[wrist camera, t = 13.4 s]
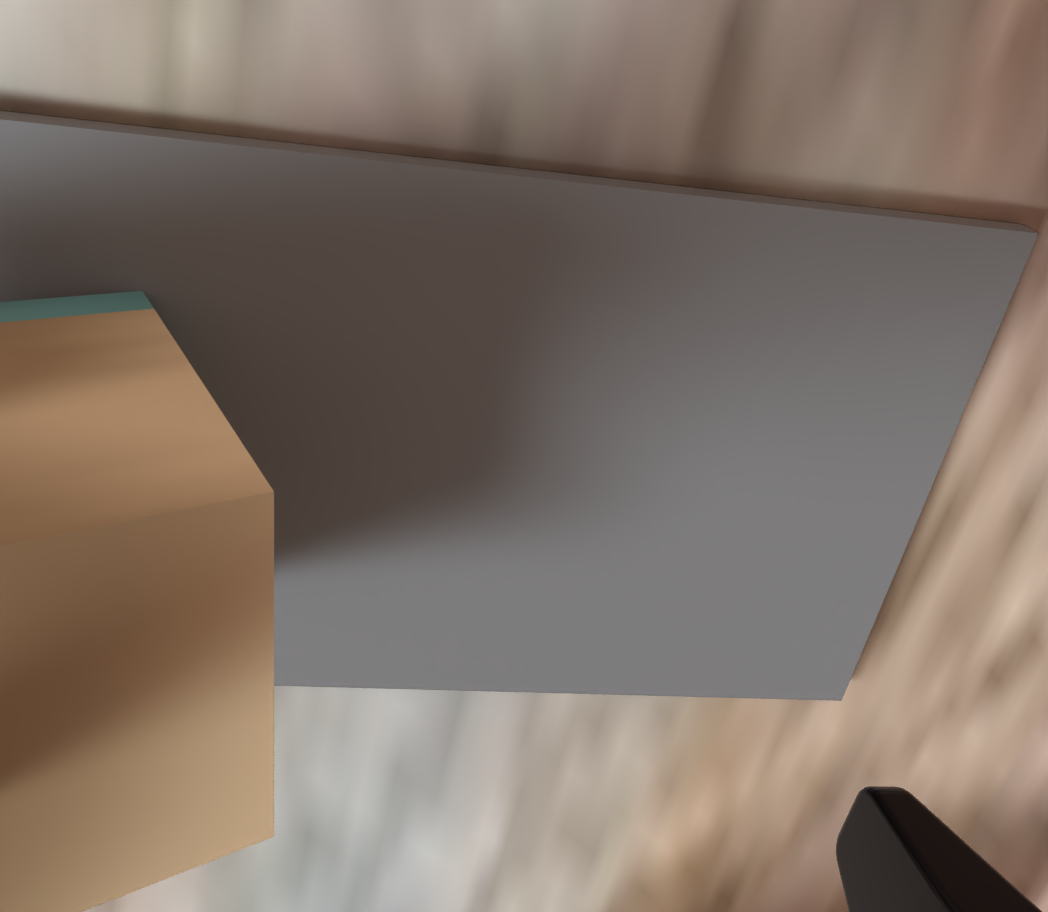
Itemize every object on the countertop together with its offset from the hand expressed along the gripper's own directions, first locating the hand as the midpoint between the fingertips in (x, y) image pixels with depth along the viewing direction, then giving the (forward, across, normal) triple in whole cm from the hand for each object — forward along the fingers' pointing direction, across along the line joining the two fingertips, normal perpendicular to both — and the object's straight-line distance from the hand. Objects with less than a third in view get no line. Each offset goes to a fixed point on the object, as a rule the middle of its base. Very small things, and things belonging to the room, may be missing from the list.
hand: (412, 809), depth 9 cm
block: (0, +4, 0) cm, 4 cm away
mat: (+6, +1, 0) cm, 7 cm away
